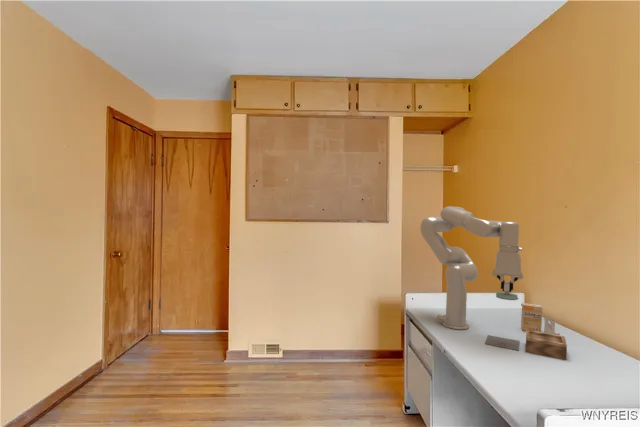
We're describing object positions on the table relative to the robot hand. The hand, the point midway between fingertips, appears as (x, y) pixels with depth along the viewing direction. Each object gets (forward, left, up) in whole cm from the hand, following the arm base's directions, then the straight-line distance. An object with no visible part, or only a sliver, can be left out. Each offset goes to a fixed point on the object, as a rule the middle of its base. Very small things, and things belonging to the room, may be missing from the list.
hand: (506, 290), depth 157 cm
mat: (-1, 0, -23) cm, 23 cm away
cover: (0, 0, -3) cm, 3 cm away
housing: (+15, 0, -23) cm, 28 cm away
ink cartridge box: (+18, +18, -24) cm, 35 cm away
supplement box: (+10, +28, -24) cm, 38 cm away
